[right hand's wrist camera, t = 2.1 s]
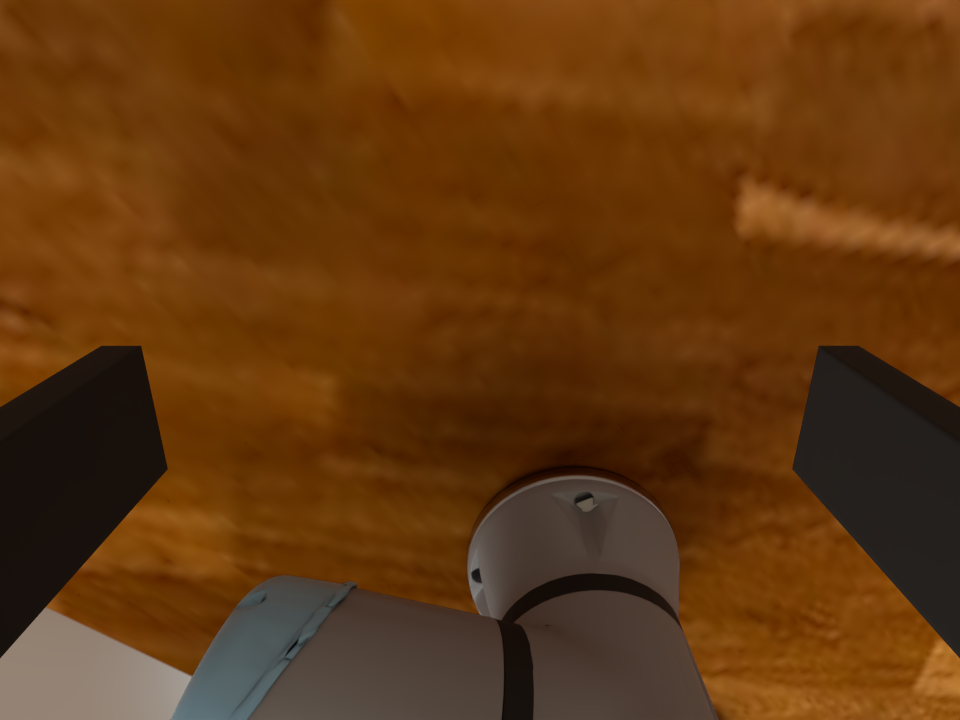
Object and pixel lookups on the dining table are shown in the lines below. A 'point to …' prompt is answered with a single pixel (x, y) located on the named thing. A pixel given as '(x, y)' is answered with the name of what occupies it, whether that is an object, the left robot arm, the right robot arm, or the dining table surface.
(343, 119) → the dining table surface
